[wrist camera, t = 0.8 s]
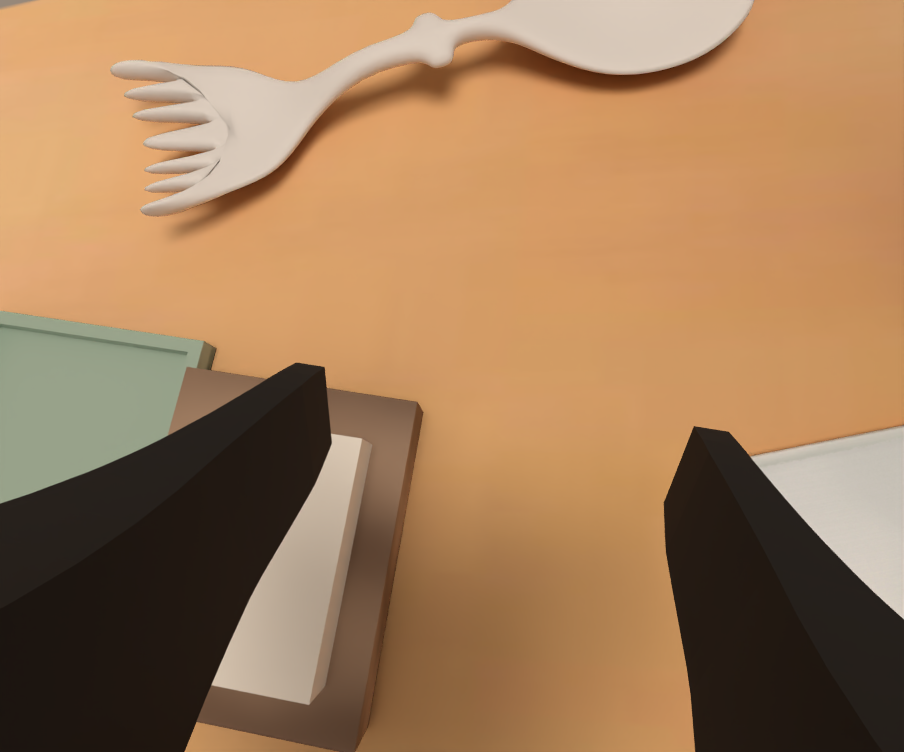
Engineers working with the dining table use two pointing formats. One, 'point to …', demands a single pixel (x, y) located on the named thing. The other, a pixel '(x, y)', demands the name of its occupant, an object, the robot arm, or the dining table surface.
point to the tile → (301, 589)
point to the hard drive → (851, 502)
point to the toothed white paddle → (428, 41)
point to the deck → (368, 578)
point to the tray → (83, 396)
